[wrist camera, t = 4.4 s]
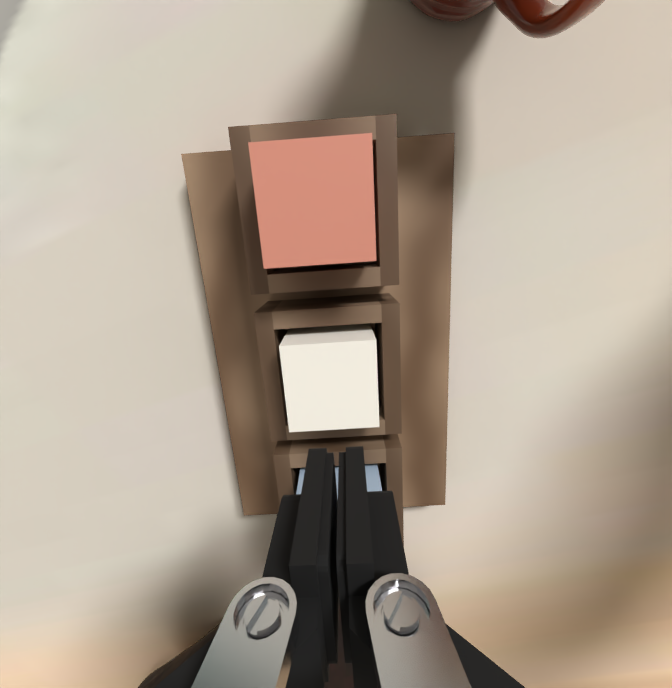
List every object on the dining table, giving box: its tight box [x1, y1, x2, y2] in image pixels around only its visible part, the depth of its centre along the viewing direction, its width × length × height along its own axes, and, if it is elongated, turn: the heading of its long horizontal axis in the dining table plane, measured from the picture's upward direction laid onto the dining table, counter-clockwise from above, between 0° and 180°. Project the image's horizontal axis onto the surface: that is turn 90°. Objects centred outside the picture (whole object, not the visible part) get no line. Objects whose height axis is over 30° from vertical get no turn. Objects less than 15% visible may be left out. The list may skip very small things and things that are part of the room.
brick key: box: [248, 133, 376, 269], centre depth 17 cm, size 5×5×4 cm
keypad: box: [181, 114, 454, 548], centre depth 23 cm, size 16×26×6 cm, turn 4°
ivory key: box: [279, 323, 379, 432], centre depth 20 cm, size 5×5×4 cm
